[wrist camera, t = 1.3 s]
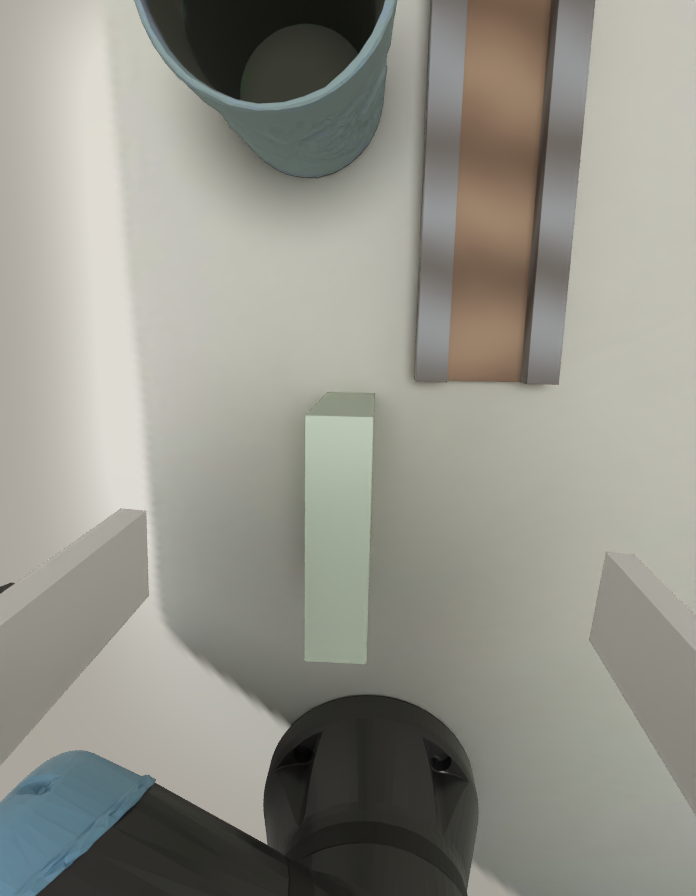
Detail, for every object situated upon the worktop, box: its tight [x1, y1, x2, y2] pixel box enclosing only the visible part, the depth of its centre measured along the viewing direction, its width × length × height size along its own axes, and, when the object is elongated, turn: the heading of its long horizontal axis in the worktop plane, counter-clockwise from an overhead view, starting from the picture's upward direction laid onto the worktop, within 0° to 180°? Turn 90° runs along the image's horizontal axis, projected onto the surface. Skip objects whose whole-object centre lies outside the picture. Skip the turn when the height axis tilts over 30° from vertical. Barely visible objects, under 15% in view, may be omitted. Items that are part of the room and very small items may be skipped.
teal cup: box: [134, 0, 397, 178], centre depth 25 cm, size 10×10×12 cm
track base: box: [414, 0, 595, 385], centre depth 30 cm, size 24×8×2 cm, turn 179°
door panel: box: [304, 392, 375, 664], centre depth 30 cm, size 12×3×11 cm, turn 179°
